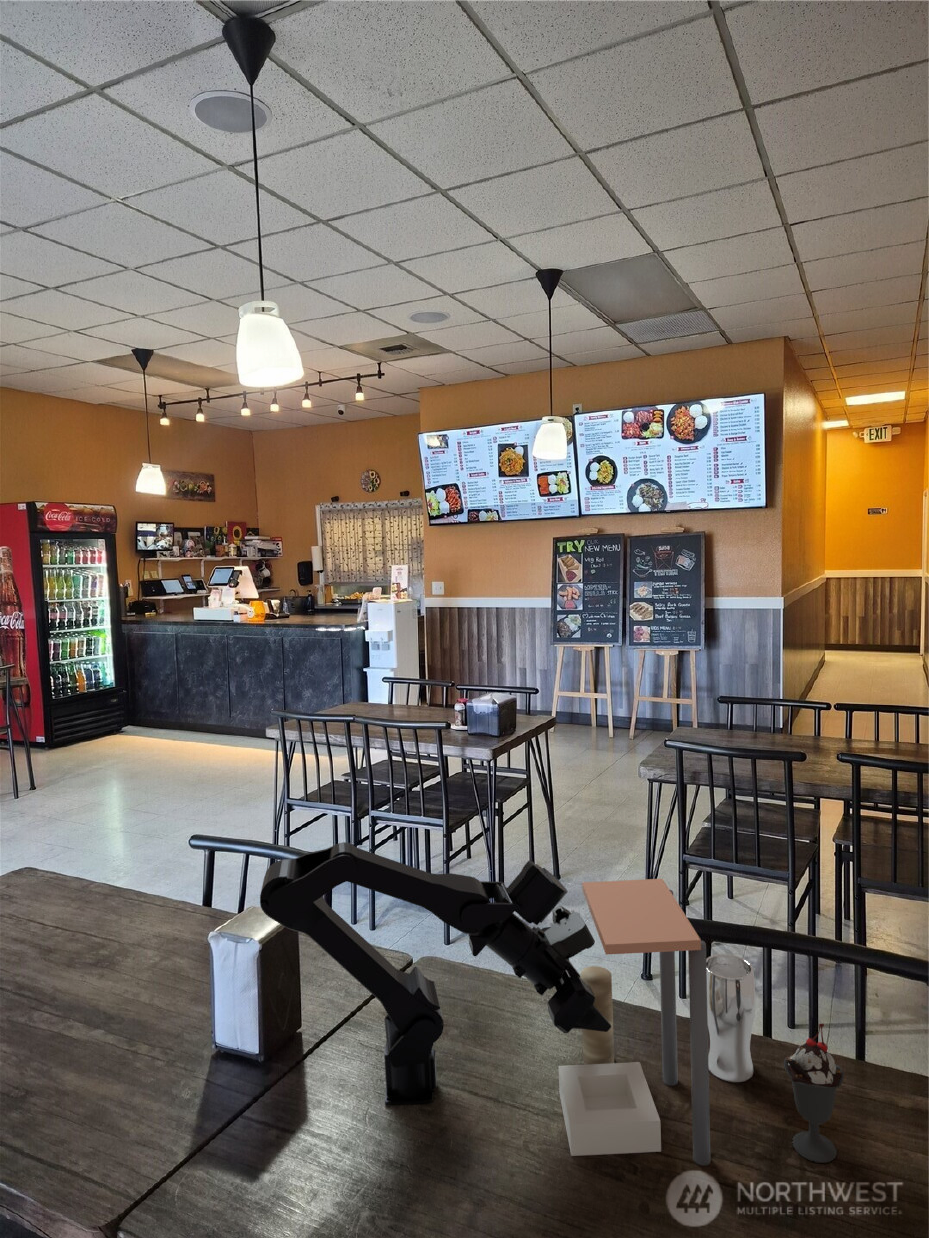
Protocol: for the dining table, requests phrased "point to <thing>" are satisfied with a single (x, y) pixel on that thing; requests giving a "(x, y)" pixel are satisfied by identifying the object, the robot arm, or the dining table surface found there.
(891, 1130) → the dining table surface
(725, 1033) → the beer glass
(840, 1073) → the sundae
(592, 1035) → the dowel
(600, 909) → the table parts
